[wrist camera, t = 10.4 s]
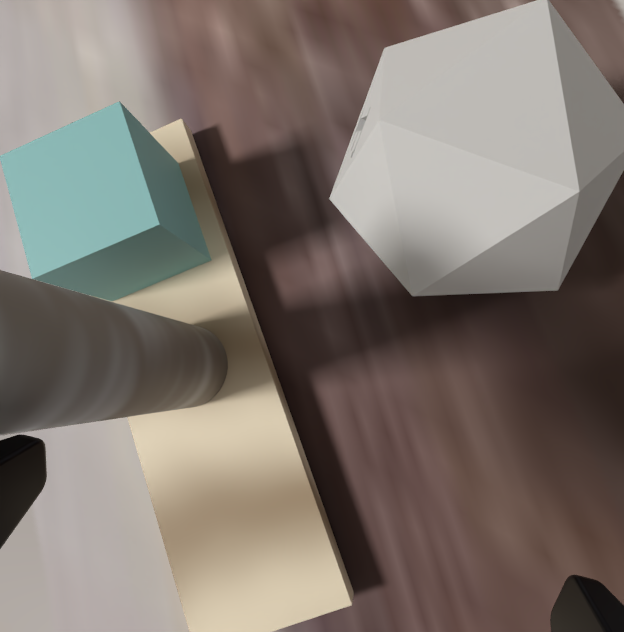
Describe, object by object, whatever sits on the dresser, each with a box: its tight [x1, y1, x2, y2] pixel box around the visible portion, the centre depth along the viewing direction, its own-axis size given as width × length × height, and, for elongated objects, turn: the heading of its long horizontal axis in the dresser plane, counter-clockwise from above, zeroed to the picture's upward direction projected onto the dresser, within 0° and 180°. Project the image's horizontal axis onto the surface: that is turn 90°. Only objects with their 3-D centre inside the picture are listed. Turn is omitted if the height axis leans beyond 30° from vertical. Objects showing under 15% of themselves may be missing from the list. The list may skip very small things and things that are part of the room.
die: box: [329, 0, 624, 296], centre depth 15 cm, size 8×9×10 cm
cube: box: [0, 101, 211, 301], centre depth 17 cm, size 4×4×4 cm
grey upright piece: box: [0, 119, 354, 632], centre depth 13 cm, size 20×6×14 cm, turn 21°
